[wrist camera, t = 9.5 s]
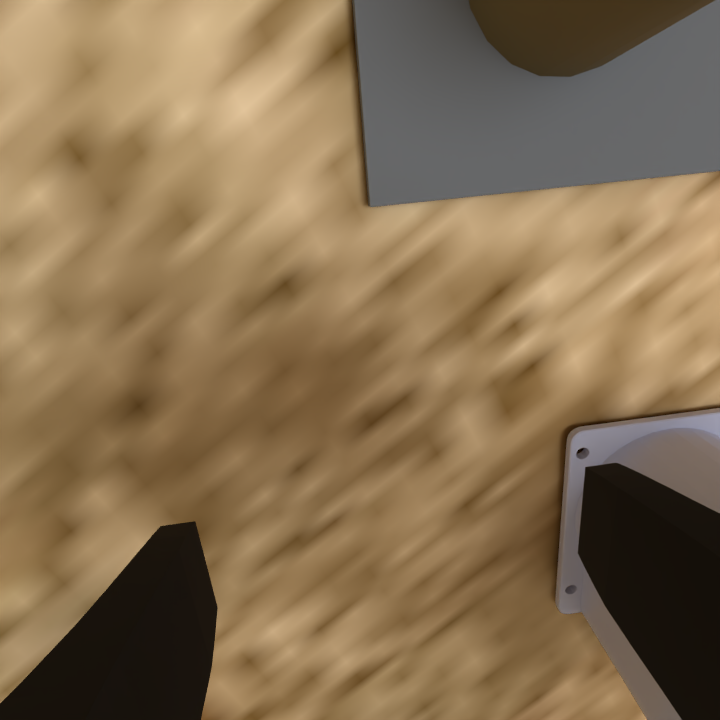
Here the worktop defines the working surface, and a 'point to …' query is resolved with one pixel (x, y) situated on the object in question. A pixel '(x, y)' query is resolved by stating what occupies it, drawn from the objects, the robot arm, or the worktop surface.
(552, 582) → the worktop surface
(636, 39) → the olive brown rounded piece
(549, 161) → the rubber mat
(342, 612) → the worktop surface
